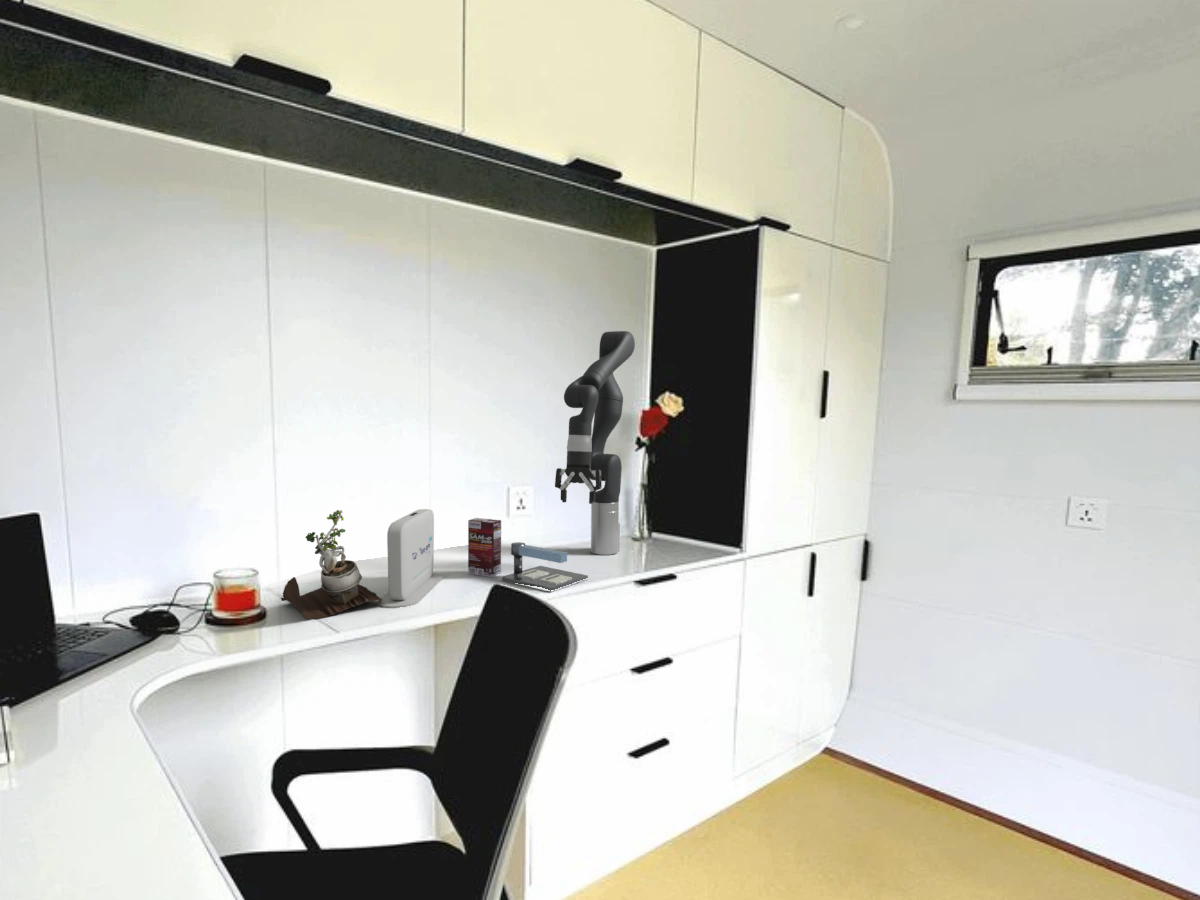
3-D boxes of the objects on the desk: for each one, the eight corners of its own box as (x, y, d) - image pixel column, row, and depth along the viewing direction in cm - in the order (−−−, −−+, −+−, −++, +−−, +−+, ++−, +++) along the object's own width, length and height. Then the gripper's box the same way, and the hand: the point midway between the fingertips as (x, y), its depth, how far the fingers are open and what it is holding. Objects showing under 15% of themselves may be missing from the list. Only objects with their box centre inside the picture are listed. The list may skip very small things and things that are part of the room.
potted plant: (390, 612, 154) (369, 521, 145) (312, 651, 142) (284, 555, 133) (356, 582, 168) (334, 497, 158) (282, 615, 156) (254, 526, 147)
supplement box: (467, 574, 183) (467, 520, 182) (476, 570, 187) (476, 517, 186) (493, 577, 179) (493, 522, 178) (501, 573, 184) (502, 519, 183)
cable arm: (508, 554, 180) (508, 544, 180) (518, 552, 183) (518, 541, 183) (559, 564, 169) (559, 553, 169) (568, 561, 172) (568, 551, 172)
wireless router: (412, 608, 151) (412, 525, 150) (371, 608, 151) (370, 525, 150) (447, 574, 182) (447, 506, 181) (412, 574, 183) (412, 505, 181)
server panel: (538, 569, 190) (538, 548, 189) (587, 579, 178) (588, 558, 178) (499, 580, 177) (499, 558, 176) (550, 592, 166) (550, 569, 165)
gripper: (604, 451, 196) (602, 503, 196) (560, 449, 199) (559, 500, 199) (598, 450, 189) (596, 505, 189) (553, 449, 192) (551, 502, 192)
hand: (577, 502), depth 194 cm, fingers open, 8 cm apart
